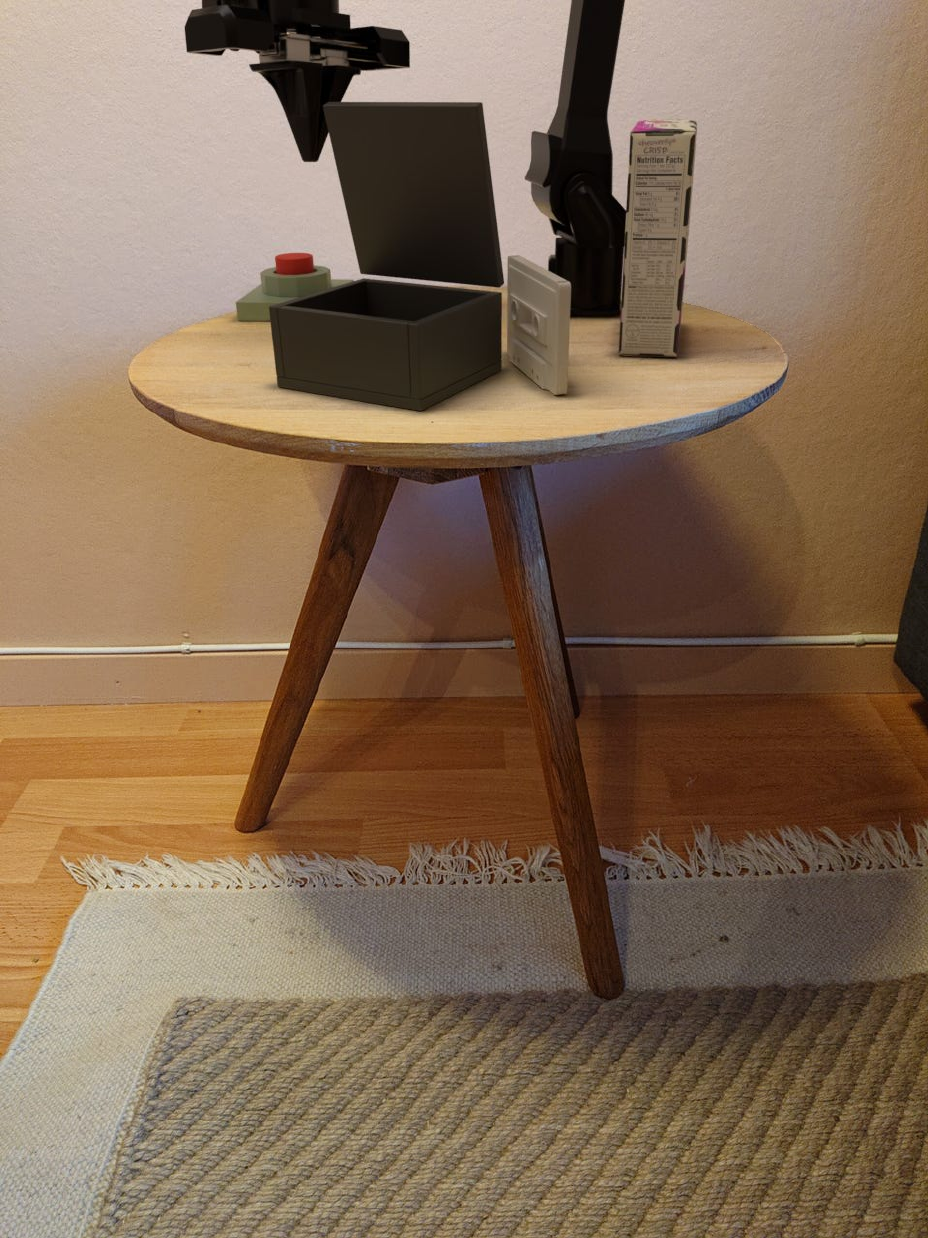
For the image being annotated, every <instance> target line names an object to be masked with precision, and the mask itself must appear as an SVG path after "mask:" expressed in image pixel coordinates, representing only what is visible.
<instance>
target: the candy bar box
mask: <svg viewBox="0 0 928 1238" xmlns="http://www.w3.org/2000/svg"><path fill="white" fill-rule="evenodd" d="M697 132H698V123H697V120H695V119H685V118H683V119H682V118H679V119H678V118H677V119H676V118H675V119H673V118H672V119H671V118H669V119H668V118H667V119H645V120H640V121H639V120H638V121H637V122H636V124H635V125H634V127H633V128H632V130H630V133H629V154H628V155H629V156H628V171H627V173H628V174H627V186H626V187H627V188H626V204H625V205H626V206H625V210H626V226H625V245H624V256H623V272H622V288H621V315H620V318H619V321H620V322H619V336H618V337H619V339H618V355H620V356H625V357H635V358H636V357H637V358H638V357H639V358H640V357H644V358H676V357H677V356H678V351H679V342H680V334H681V325H682V313H683V301H684V291H685V282H686V281H685V279H686V270H687V269H686V268H687V258H688V245H689V232H690V224H691V223H690V222H691V210H692V200H693V199H692V198H693V188H694V176H695V175H694V174H695V163H696V149H697V135H698V133H697Z"/></svg>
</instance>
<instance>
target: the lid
mask: <svg viewBox="0 0 928 1238" xmlns="http://www.w3.org/2000/svg"><path fill="white" fill-rule="evenodd" d="M483 104H484V103H483V102H481V101H341V102H328V103H326V104H324V105H323V109H324V113H325V118H326V122H327V127H328V131H329V133H328V135H329V139H330V144H331V148H332V153H333V156H334V157H333V158H334V162H335V166H336V171H337V175H338V181H339V185H340V188H341V194H342V197H343V203H344V206H345V212H346V216H347V220H348V224H349V229H350V233H351V237H352V242H353V247H354V251H355V254H356V255H355V256H356V260H357V264H358V269H359V272H360V274H361V275H366V276H378V277H386V278H397V279H406V280H407V279H408V280H418V281H427V282H438V283H449V284H457V285H467V286H468V285H469V286H477V287H478V286H479V287H487V288H488V287H489V288H501V287H502V286H504V284H505V277H504V268H503V262H502V261H503V260H502V253H501V252H502V251H501V243H500V237H499V228H498V221H497V212H496V211H497V210H496V204H495V196H494V188H493V179H492V172H491V171H492V170H491V163H490V154H489V147H488V146H489V145H488V136H487V129H486V121H485V113H484V112H485V111H484V105H483Z"/></svg>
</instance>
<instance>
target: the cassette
mask: <svg viewBox="0 0 928 1238" xmlns="http://www.w3.org/2000/svg"><path fill="white" fill-rule="evenodd" d="M506 274H507V275H506V276H507V283H506V284H507V285H506V287H507V288H506V293H507V295H506V297H507V298H506V299H507V301H506V302H507V303H506V304H507V305H506V308H507V309H506V354H507V357H508V358H509V360H508V361H509V362H510V363H511V364H512V365H514V366H515V367H516V368H517V369H519V370H520V371H521V373H523V374H524V375H526V377H528V378H529V379H530V380H531V381H532V382H534V383H535V384H536V385H537V386H539V387H540V388H541V389H542V390H547V391H549V392H550V393H551V394H553V395H554V396H558V395H566V394H567V393H568V383H569V382H568V380H569V355H570V331H571V330H570V327H571V315H570V304H571V283H570V282H569V281H567V280H565V279H563V278H561V277H559V276H557V275H555V274H554V273H552V272H550V271H548V269H546V268H545V267H543V266H541V265H538V264H536V263H535V262H533V261H532V260H529V259H526V257H523V256H522V255H520V254H518V255H508V256H507V273H506Z"/></svg>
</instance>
